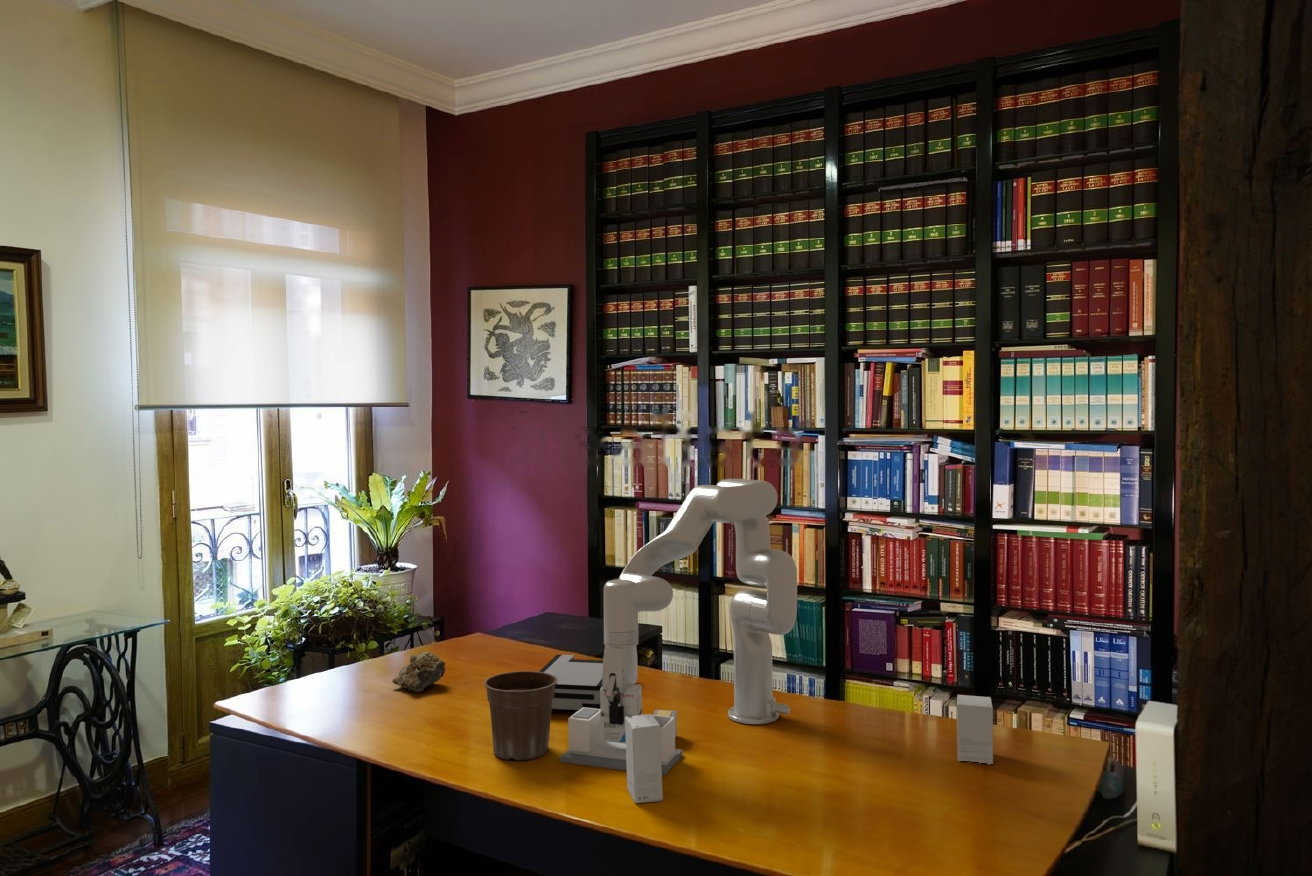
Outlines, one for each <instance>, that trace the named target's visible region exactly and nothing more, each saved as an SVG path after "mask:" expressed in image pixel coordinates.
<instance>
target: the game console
mask: <svg viewBox="0 0 1312 876" xmlns="http://www.w3.org/2000/svg"><path fill="white" fill-rule="evenodd" d="M538 672H544V673H549V674H552V675H554V676H556V677H557V679H558V681H557V684H556V685H555V692H554V698H553V700H552V710H551V712H553V710H568V711H571V710H573V711H579V710H580V709H581V708H583V707H586V708H595V709H600V689H601V687H602V677H603V659H584V658H583V659H581V658H580V659H579V658H575V654H556V655H554V656H553V658H551V659H550V660H549V661H548V662H547V663H546V664H545V665H543V667H542V668H541V669H540V670H539V671H538Z"/></svg>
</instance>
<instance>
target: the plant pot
mask: <svg viewBox="0 0 1312 876" xmlns="http://www.w3.org/2000/svg"><path fill="white" fill-rule="evenodd" d="M557 681H558V679H557V677H556V676H554V675H552V674H549V673H544V672H539V671H535V670H534V671H533V670H520V671H519V670H518V671H515V670H514V671H509V672H507V671H506V672H503V673H502V672H501V673H497V674H494V675H492V676H490V677H488V678H486V679H485V680H484V682H483V685H484V687H485V688H486V697H487V702H488V703H489V713H490V722H491V736H492V743H493V744H492V745H493V754H494V756H496V757H498V758H500V759H502V760H510V759H513V760H515V761H526V760H527V761H529V760H535V759H538V758H540V757H542V756H544V755H545V754H546V752H548V751H549V744H550V731H551V718H552V711H553V710H552V700H553V698H554V692H555V685H556V684H557ZM551 710H552V711H551Z"/></svg>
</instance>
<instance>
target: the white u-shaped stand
mask: <svg viewBox="0 0 1312 876" xmlns="http://www.w3.org/2000/svg"><path fill="white" fill-rule="evenodd" d="M652 715H653V714H652ZM653 717H654V718H655V719H656V721H657V722H658V723H659V725H660V743H661V766H662V777H663V776H664V777H665V776H666V775H667V774H668V772H670V770H671V769H672V768H673V767H674V766H675V765H676V763H677V762H678V761H679V760H680V759H681V757H682V756H683V749H677V748H676V739H675V717H668V716H658V715H653ZM567 727H568V729H567V730H568V731H567V732H568V733H567V734H568V735H567V737H568V738H567V739H568V743H567V744H568V746H567V747H568V748H567V749H566V751H565V752H564V753H563V754H561V755H560V756H559V757H560V758H559V759H560V760H559V761H560V763H566V764H574V765H581V766H587V767H588V766H589V767H594V768H595V767H597V768H604V769H611V770H619V771H624V772H625V771H626V772H627V764H626V742H607V741H601V710H600V709H595V708H586V707H583V708H581V709H580V710H579V711H578V710H576V711H575V713H574V714H571V716H569V717H568V718H567Z"/></svg>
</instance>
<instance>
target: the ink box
mask: <svg viewBox="0 0 1312 876" xmlns="http://www.w3.org/2000/svg"><path fill="white" fill-rule="evenodd" d="M615 691H619V689H617V688H615ZM606 692H607V691H606ZM606 692H604V691H603V689H602V687H601V689H600V710H601V741H607V742H622V743H626V736H625V717H629V716H637V715H643V701H642V699H643V697H642V696H643V695H642V684H636V683H635V684H634V685H632V686H631V687H629V688H628V689H627V690H626V691H625V692H623V701H622V706H624V724H623V725H618V724H610V723H609V705H608V703H609V701H608V699H607V697H606ZM614 695H615V696H617V698H618V699H619V694H614Z"/></svg>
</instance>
